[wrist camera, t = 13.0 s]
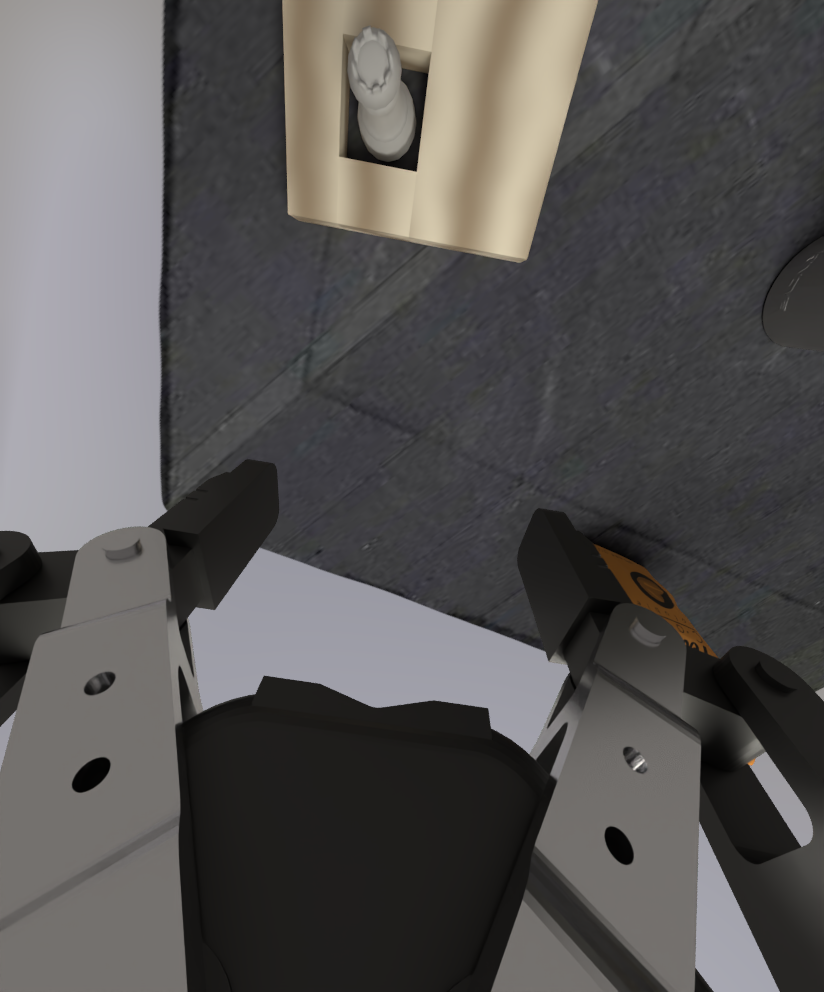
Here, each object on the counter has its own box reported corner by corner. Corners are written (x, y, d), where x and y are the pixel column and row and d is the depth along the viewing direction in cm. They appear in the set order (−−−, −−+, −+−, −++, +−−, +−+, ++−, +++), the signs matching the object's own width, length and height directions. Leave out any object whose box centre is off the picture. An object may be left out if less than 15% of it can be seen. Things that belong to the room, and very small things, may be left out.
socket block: (585, 16, 23) (602, -14, 20) (520, 262, 30) (526, 259, 28) (295, -46, 22) (280, -85, 20) (298, 220, 29) (288, 214, 27)
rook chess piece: (348, 125, 26) (317, 61, 19) (386, 63, 24) (368, -33, 17) (389, 179, 27) (374, 137, 20) (428, 124, 26) (426, 58, 19)
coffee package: (591, 526, 43) (713, 698, 24) (655, 566, 46) (810, 749, 27) (538, 572, 48) (607, 748, 29) (599, 607, 51) (699, 788, 32)
